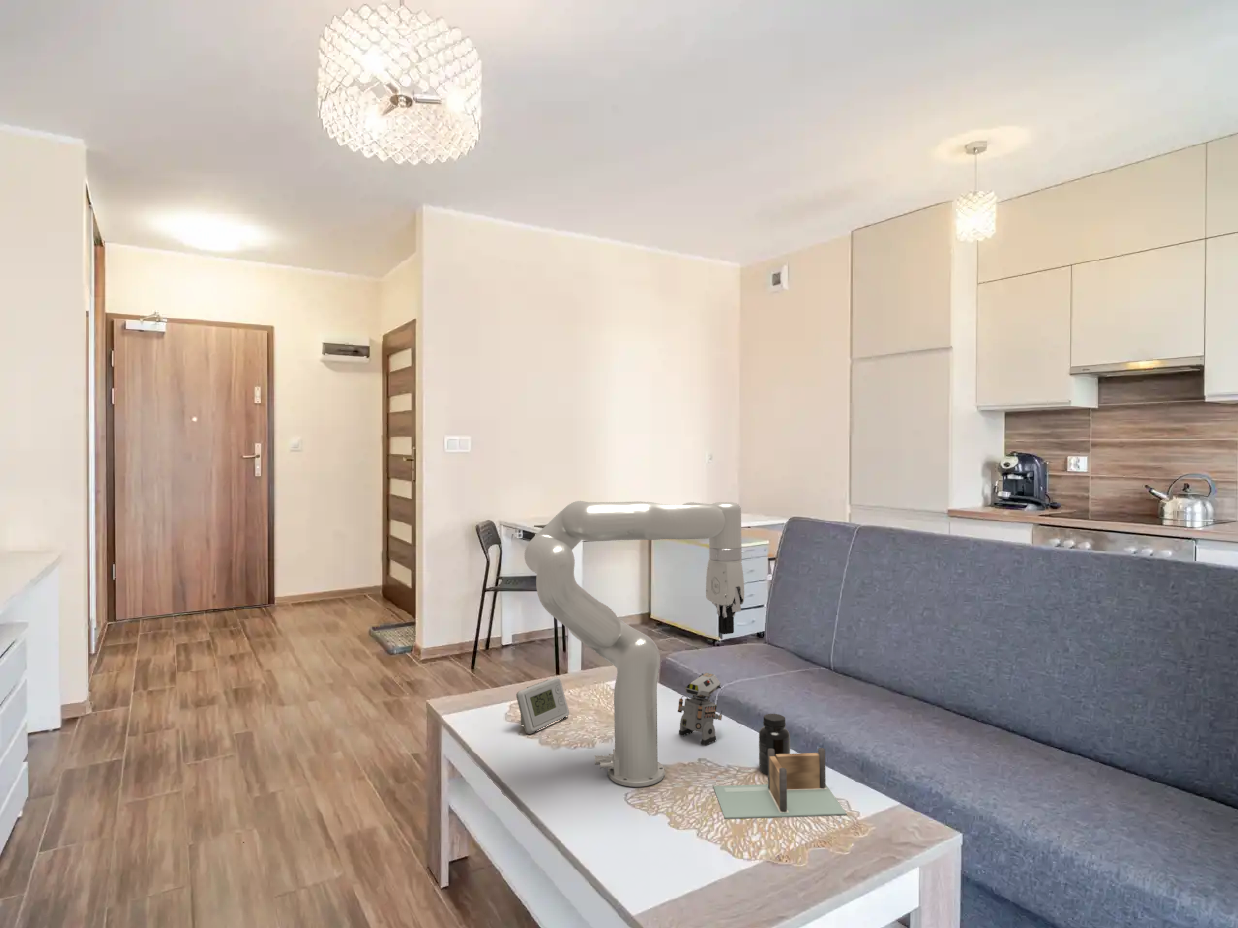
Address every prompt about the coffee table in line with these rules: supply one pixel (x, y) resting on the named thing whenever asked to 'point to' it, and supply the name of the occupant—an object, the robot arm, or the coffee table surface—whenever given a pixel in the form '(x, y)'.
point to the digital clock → (542, 704)
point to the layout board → (763, 805)
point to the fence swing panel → (777, 780)
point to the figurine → (700, 708)
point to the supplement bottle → (772, 739)
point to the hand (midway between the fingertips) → (726, 632)
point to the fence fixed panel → (804, 769)
